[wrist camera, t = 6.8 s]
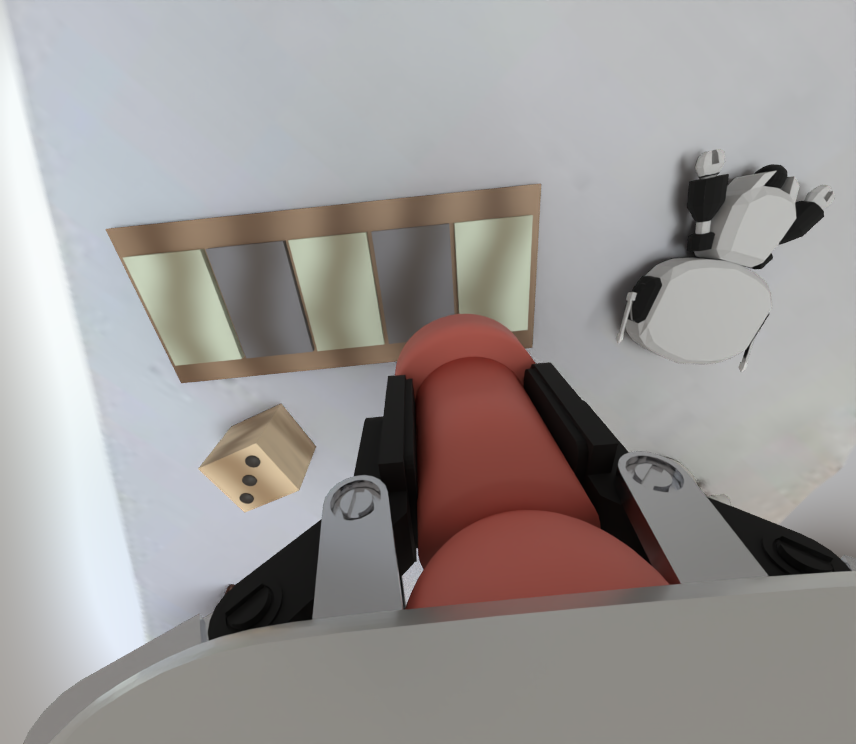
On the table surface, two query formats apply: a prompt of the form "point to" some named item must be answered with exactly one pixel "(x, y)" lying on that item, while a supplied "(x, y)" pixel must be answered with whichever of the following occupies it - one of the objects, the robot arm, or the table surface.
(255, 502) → the die
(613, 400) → the table surface
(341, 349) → the board
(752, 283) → the robot toy
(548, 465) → the pawn
